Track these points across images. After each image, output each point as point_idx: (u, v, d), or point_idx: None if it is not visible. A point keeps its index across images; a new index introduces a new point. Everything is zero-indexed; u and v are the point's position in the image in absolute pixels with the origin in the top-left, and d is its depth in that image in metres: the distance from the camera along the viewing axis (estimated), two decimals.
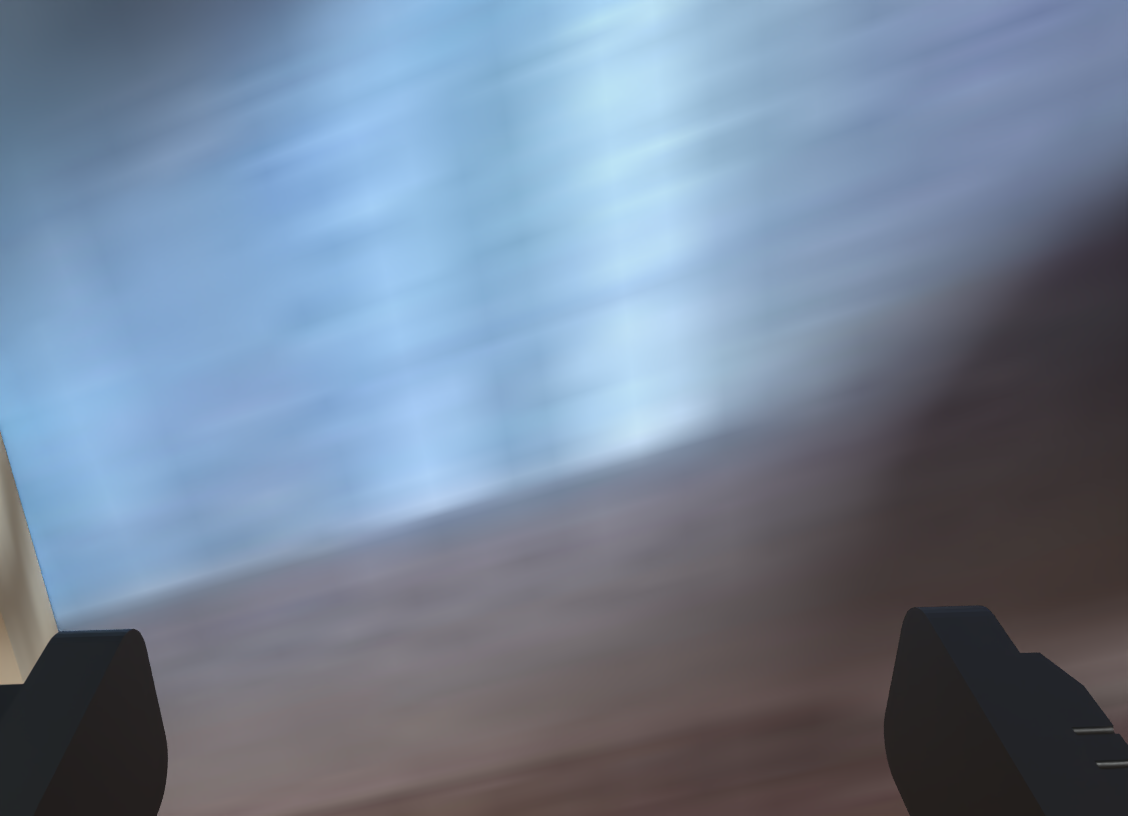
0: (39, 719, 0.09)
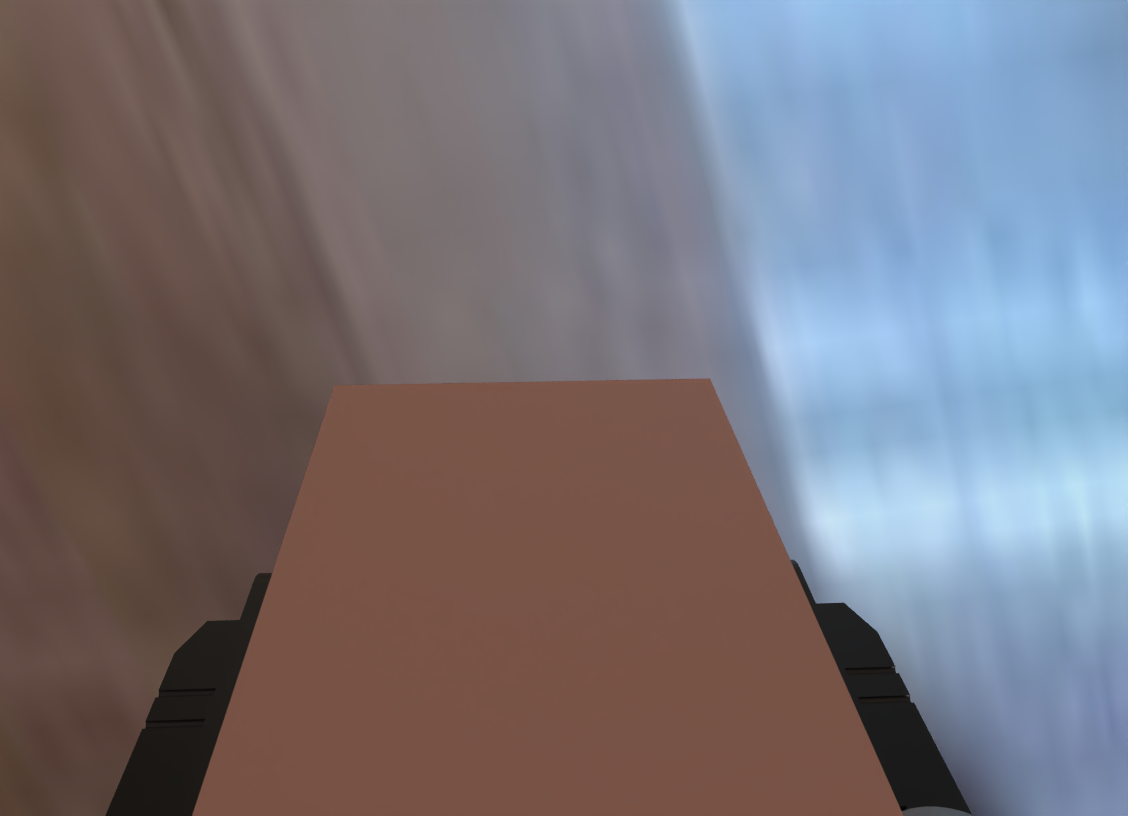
0: None
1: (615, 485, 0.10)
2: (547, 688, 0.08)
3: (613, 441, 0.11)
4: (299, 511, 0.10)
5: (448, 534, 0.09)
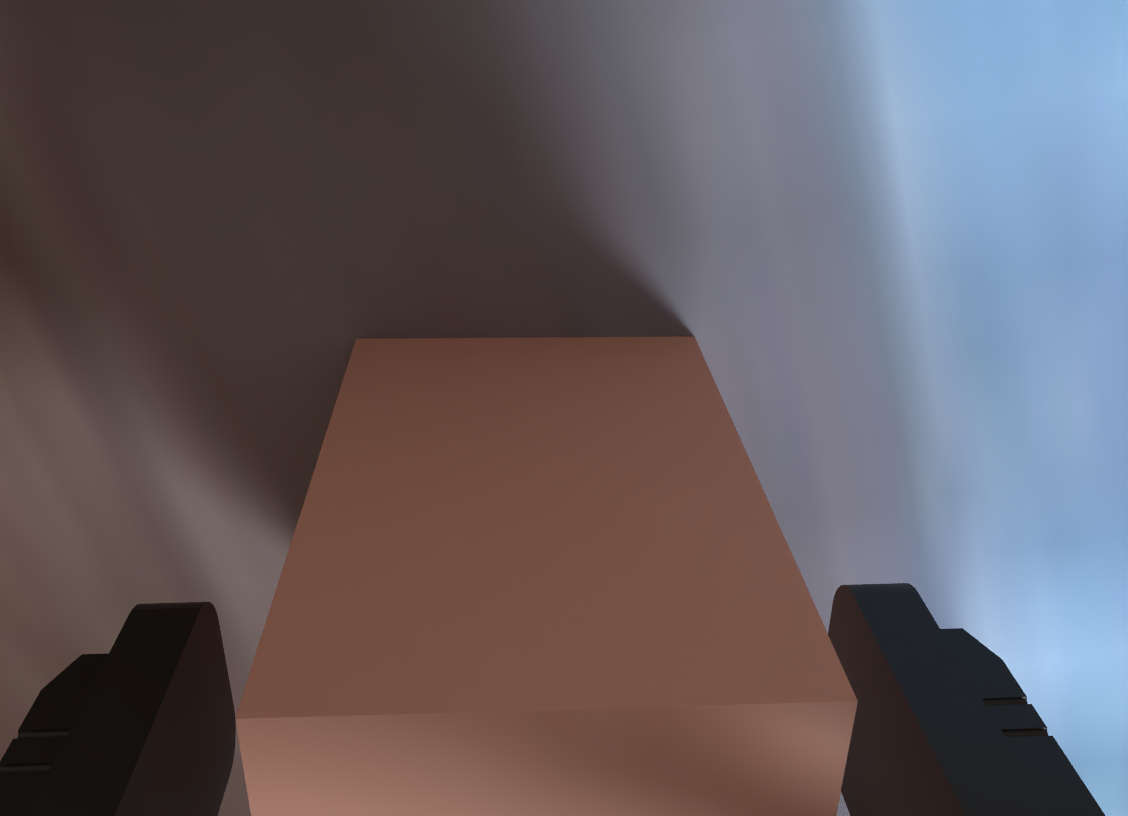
0: (128, 684, 0.09)
1: (607, 422, 0.12)
2: (549, 572, 0.09)
3: (606, 386, 0.12)
4: (330, 438, 0.11)
5: (461, 458, 0.11)
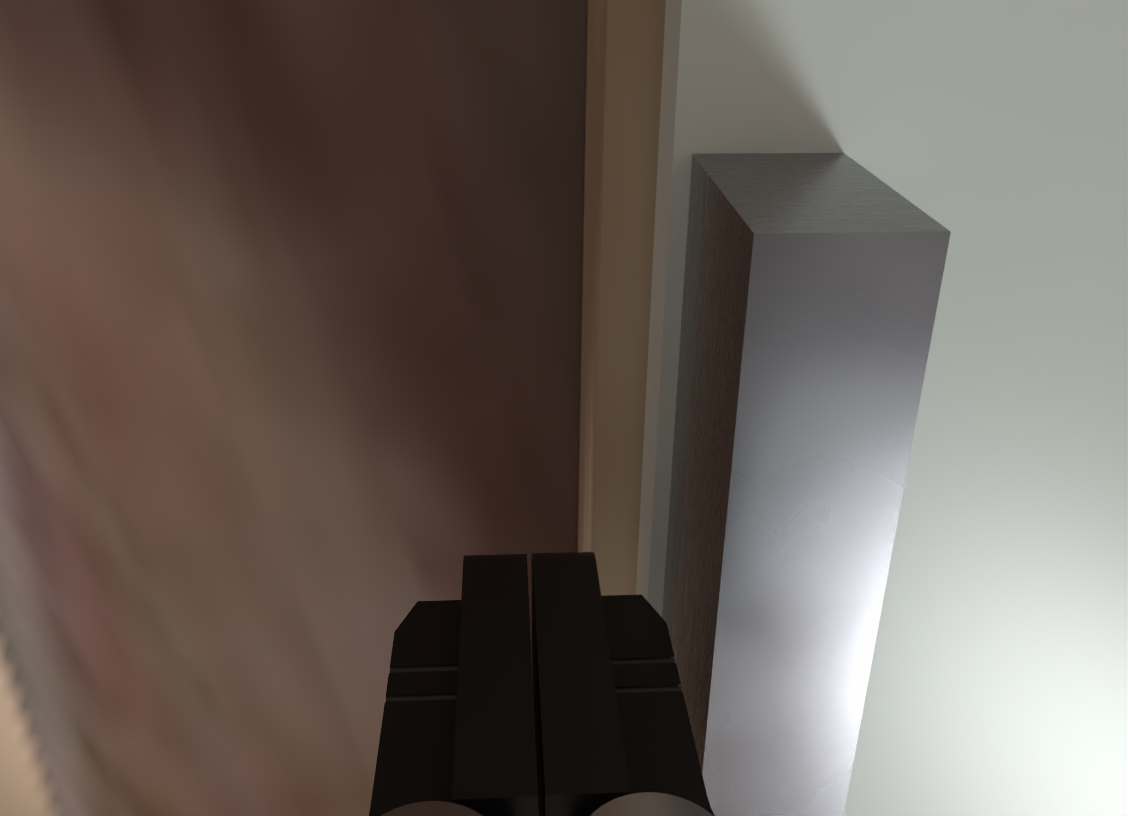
0: (493, 623, 0.10)
1: None
2: None
3: None
4: None
5: None
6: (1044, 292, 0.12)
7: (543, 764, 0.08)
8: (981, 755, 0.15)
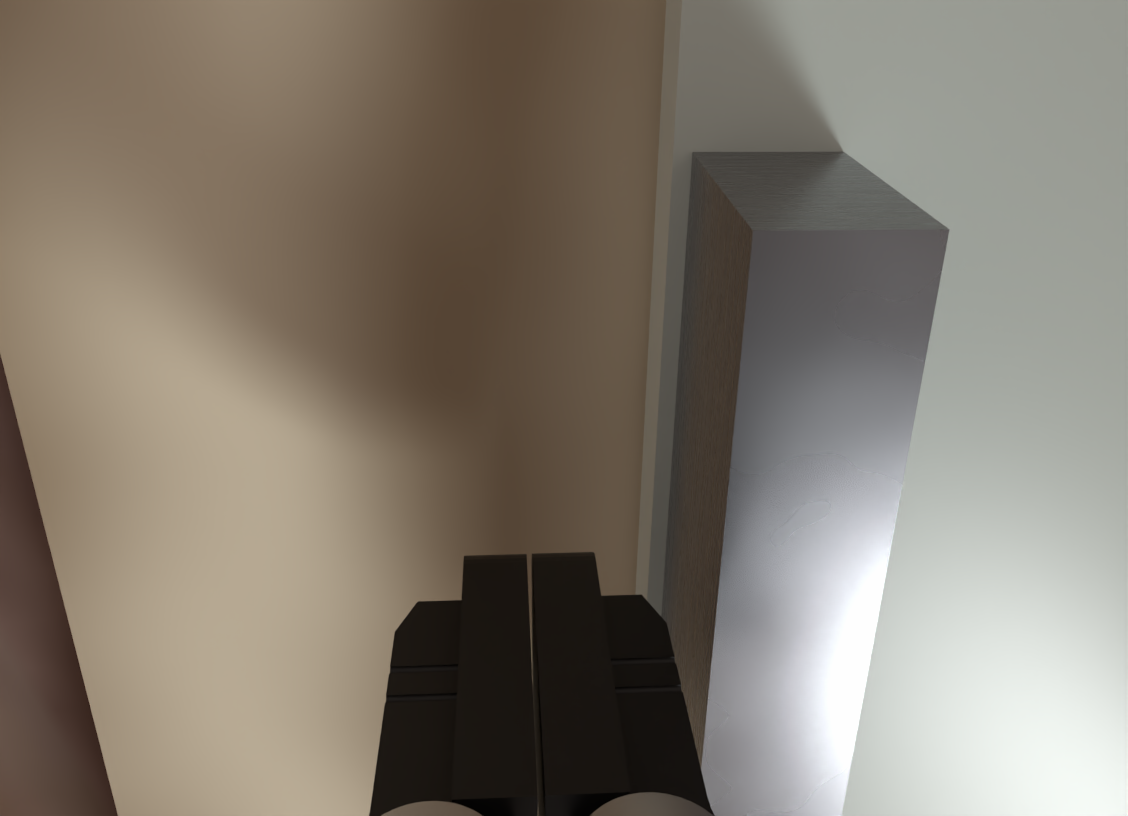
0: (493, 623, 0.10)
1: None
2: None
3: None
4: None
5: None
6: (1043, 291, 0.12)
7: (543, 764, 0.08)
8: (980, 754, 0.15)
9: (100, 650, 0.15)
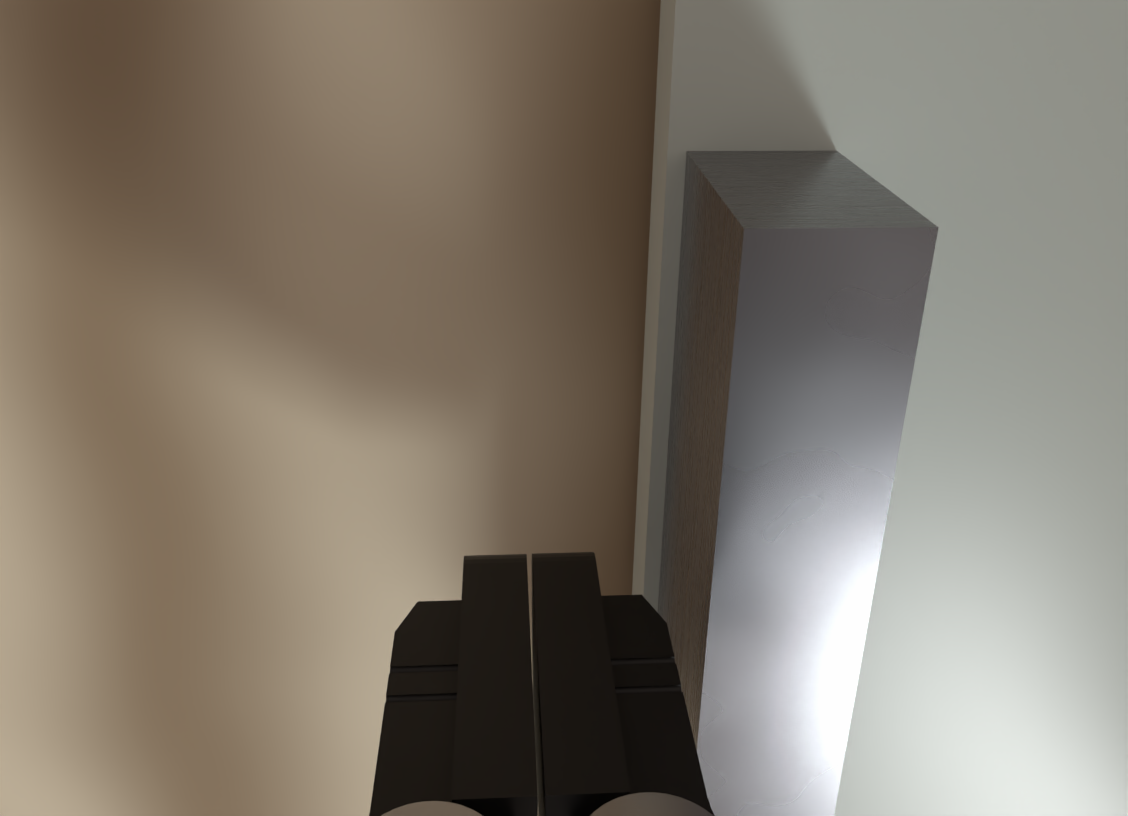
0: (493, 623, 0.10)
1: None
2: None
3: None
4: None
5: None
6: (1036, 289, 0.12)
7: (543, 764, 0.08)
8: (975, 749, 0.15)
9: None
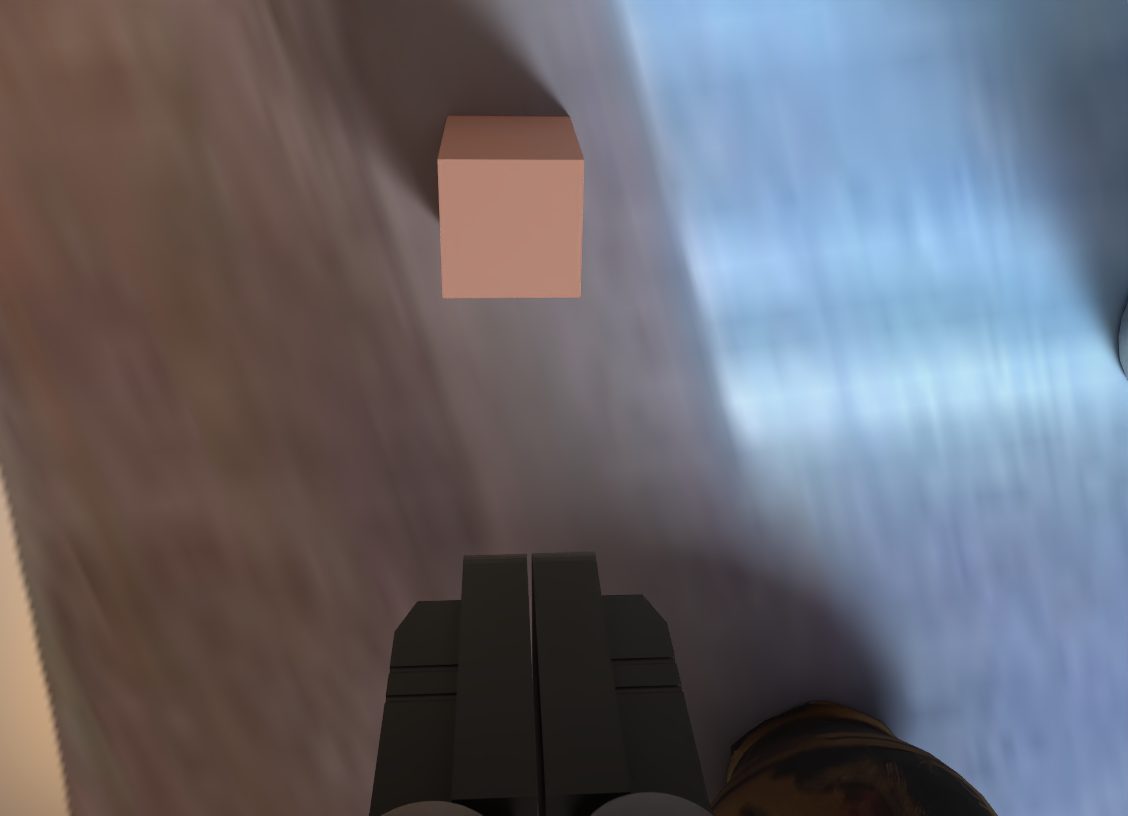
0: (493, 623, 0.10)
1: (533, 129, 0.36)
2: (512, 147, 0.33)
3: (535, 124, 0.36)
4: (445, 131, 0.35)
5: (487, 133, 0.35)
6: None
7: (543, 764, 0.08)
8: None
9: None
